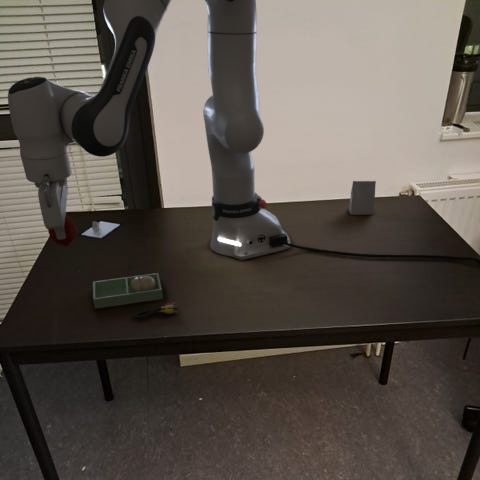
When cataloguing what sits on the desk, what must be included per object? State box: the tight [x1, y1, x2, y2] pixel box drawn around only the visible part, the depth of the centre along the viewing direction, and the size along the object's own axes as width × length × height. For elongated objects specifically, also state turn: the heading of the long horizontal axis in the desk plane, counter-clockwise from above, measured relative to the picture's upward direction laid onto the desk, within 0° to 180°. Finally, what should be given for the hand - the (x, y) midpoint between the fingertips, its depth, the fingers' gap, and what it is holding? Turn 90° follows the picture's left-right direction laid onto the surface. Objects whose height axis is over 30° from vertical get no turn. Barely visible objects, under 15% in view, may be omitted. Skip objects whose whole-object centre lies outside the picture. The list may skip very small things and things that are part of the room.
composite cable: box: [134, 302, 179, 320], centre depth 117 cm, size 10×5×2 cm, turn 95°
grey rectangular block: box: [348, 180, 377, 216], centre depth 158 cm, size 4×7×10 cm, turn 87°
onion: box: [47, 215, 78, 247], centre depth 110 cm, size 6×6×8 cm
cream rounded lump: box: [131, 275, 156, 292], centre depth 123 cm, size 6×4×4 cm
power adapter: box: [90, 221, 102, 233], centre depth 153 cm, size 3×3×3 cm
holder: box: [92, 272, 164, 309], centre depth 123 cm, size 16×8×3 cm, turn 103°
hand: (62, 230), depth 110 cm, fingers closed on onion, 6 cm apart
